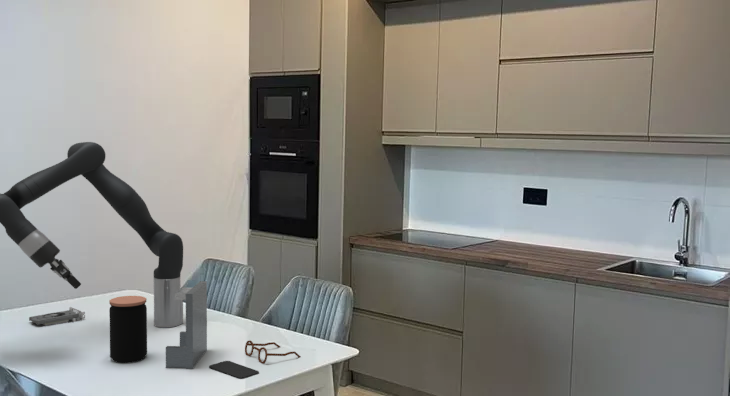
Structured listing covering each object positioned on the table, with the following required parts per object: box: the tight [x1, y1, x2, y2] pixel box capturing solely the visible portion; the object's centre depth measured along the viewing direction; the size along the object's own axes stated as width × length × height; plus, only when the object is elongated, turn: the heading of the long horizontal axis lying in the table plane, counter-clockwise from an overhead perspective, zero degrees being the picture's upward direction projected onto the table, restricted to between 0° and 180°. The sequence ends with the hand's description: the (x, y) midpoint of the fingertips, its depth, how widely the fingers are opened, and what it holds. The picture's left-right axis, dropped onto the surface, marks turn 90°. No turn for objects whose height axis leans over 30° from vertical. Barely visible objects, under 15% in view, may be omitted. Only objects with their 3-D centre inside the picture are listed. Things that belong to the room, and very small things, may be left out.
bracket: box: [165, 280, 208, 370], centre depth 206 cm, size 8×18×22 cm, turn 0°
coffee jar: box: [109, 295, 148, 364], centre depth 207 cm, size 11×11×18 cm
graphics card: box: [28, 306, 86, 326], centre depth 248 cm, size 17×4×12 cm
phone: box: [208, 360, 260, 380], centre depth 198 cm, size 7×1×15 cm
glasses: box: [244, 340, 301, 365], centre depth 212 cm, size 13×13×5 cm
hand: (78, 286), depth 208 cm, fingers open, 8 cm apart
